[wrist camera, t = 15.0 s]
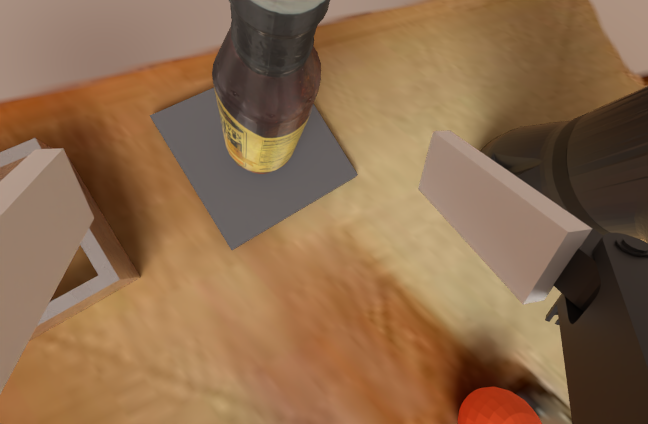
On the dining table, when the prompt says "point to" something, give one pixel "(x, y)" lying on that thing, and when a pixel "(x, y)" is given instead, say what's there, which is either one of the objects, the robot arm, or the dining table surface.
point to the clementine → (496, 408)
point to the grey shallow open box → (96, 245)
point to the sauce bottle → (267, 79)
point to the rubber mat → (245, 186)
